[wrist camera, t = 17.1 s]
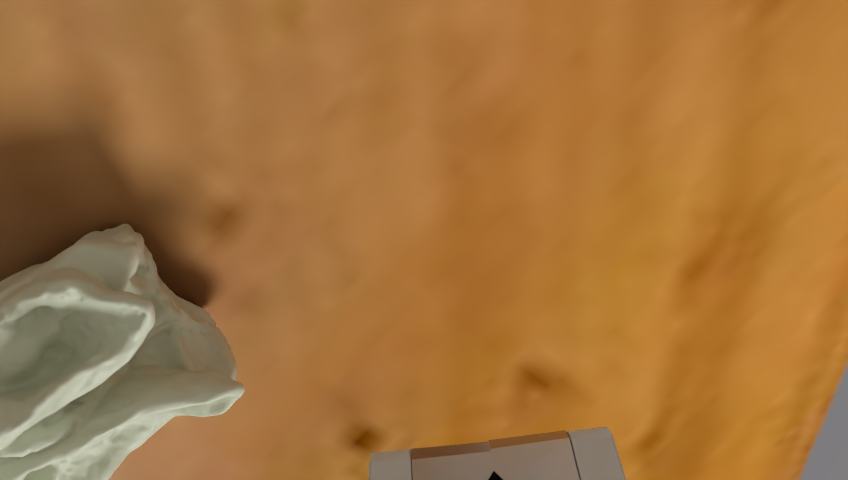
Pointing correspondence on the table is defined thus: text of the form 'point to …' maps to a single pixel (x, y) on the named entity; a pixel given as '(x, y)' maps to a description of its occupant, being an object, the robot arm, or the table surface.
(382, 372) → the table surface
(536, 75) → the table surface
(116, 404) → the folded clay sculpture
